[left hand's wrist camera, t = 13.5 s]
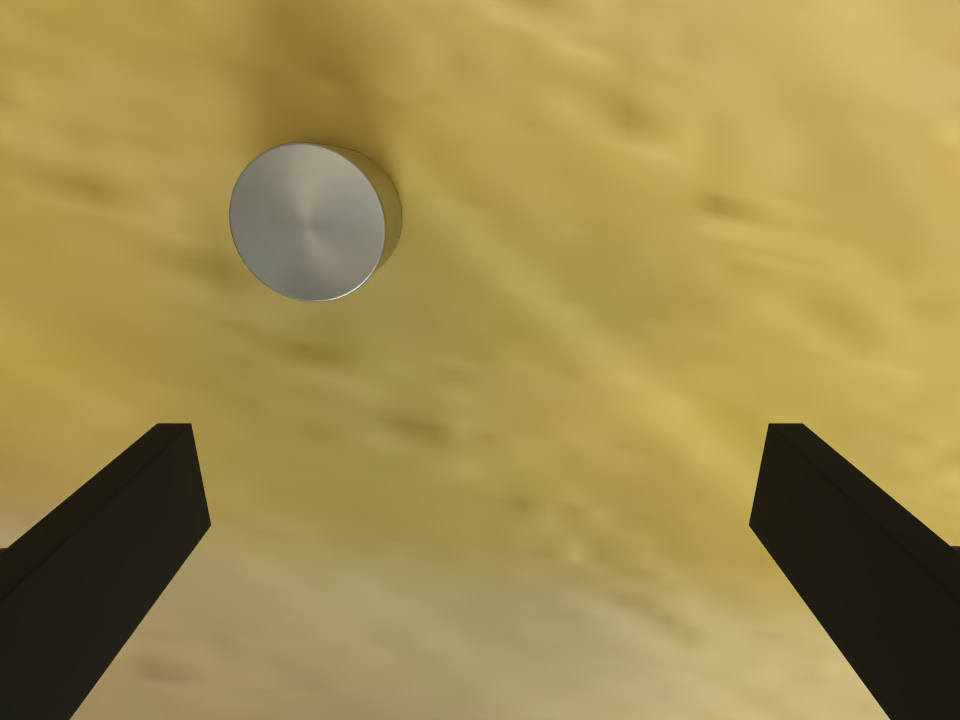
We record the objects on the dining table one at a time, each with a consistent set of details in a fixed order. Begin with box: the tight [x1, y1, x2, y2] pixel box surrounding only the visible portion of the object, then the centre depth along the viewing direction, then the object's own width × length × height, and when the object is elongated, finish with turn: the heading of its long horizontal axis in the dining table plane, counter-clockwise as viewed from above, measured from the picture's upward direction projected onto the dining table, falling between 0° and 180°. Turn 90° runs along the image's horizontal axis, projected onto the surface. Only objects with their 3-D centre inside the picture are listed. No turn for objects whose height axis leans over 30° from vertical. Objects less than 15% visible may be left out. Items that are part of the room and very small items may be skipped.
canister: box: [229, 142, 402, 302], centre depth 20 cm, size 5×5×4 cm
